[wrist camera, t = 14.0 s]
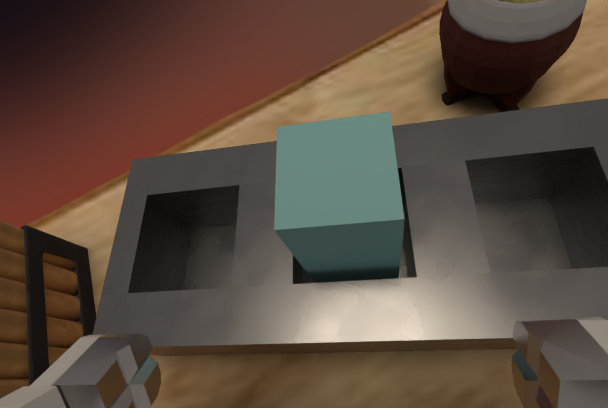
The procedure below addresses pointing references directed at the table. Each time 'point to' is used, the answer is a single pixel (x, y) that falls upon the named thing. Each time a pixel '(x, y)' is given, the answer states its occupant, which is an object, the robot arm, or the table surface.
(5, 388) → the ammunition clip
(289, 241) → the square peg
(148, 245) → the block with square holes
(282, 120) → the table surface
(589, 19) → the table surface
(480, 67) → the mate gourd
